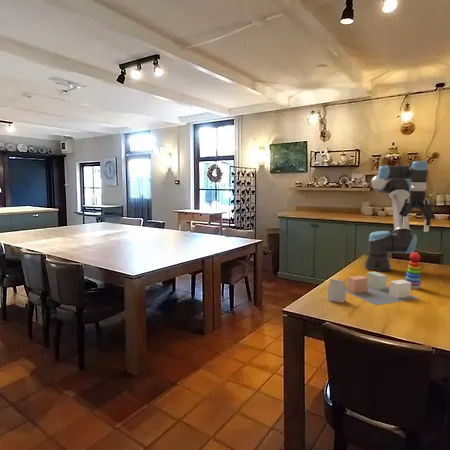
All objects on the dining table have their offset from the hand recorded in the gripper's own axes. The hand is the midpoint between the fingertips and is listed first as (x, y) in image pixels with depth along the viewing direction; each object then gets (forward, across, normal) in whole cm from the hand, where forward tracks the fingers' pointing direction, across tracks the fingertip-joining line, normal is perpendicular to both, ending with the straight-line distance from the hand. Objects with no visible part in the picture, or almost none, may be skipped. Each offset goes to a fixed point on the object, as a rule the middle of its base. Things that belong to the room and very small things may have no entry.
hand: (415, 229), depth 197 cm
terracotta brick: (+28, +4, -41) cm, 50 cm away
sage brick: (+28, +2, -27) cm, 39 cm away
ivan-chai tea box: (+29, +11, -59) cm, 67 cm away
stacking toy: (+29, +9, -9) cm, 32 cm away
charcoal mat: (+29, +10, -34) cm, 46 cm away
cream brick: (+28, +17, -27) cm, 43 cm away
